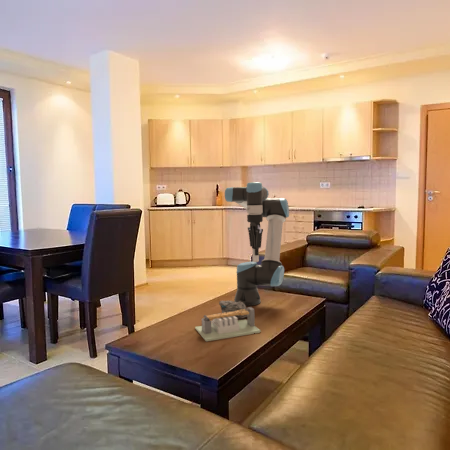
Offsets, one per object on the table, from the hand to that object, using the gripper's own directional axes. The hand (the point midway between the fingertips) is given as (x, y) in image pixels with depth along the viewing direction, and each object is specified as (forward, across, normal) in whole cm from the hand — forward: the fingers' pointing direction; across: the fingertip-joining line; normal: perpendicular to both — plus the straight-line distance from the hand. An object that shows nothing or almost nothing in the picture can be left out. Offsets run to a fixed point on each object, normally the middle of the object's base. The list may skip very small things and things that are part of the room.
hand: (255, 261), depth 191 cm
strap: (+22, +9, -19) cm, 31 cm away
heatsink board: (+29, +8, -19) cm, 36 cm away
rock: (+30, -8, -9) cm, 32 cm away
